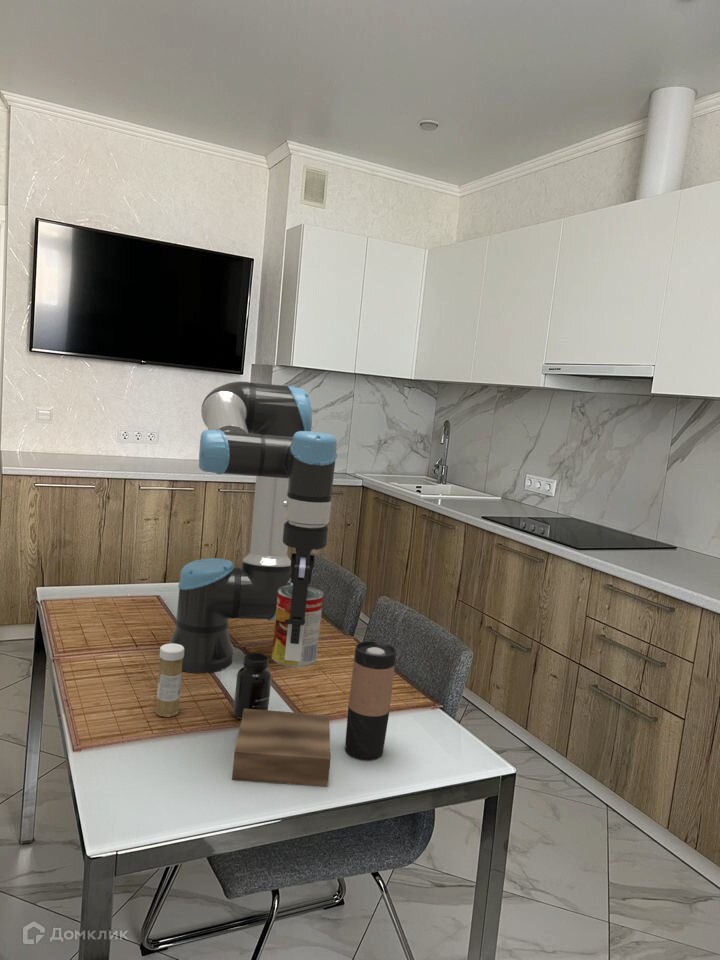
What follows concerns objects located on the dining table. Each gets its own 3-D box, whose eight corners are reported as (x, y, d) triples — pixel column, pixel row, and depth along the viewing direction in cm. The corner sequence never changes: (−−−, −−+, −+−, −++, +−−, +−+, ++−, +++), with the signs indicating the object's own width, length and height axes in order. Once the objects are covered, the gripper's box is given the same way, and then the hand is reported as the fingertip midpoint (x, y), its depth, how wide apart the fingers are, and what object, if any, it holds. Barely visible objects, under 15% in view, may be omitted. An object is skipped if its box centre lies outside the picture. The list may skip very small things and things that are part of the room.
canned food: (288, 646, 135) (295, 582, 133) (325, 658, 131) (332, 592, 129) (262, 657, 128) (268, 590, 126) (299, 670, 124) (306, 601, 123)
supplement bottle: (261, 725, 144) (266, 666, 142) (227, 718, 145) (233, 660, 143) (272, 710, 150) (278, 654, 149) (240, 704, 151) (245, 648, 150)
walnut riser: (241, 733, 139) (243, 708, 139) (326, 739, 141) (329, 715, 140) (232, 779, 124) (234, 751, 123) (327, 786, 125) (330, 758, 124)
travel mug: (354, 764, 133) (367, 658, 130) (336, 743, 140) (348, 642, 137) (391, 758, 137) (404, 654, 134) (372, 738, 143) (384, 639, 141)
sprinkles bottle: (161, 705, 147) (166, 641, 145) (183, 710, 146) (188, 645, 144) (150, 715, 142) (155, 648, 141) (172, 720, 142) (178, 653, 140)
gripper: (286, 509, 136) (275, 628, 139) (281, 533, 116) (267, 672, 119) (327, 513, 137) (314, 631, 140) (329, 538, 116) (314, 676, 119)
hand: (293, 650), depth 129 cm, fingers closed on canned food, 8 cm apart
